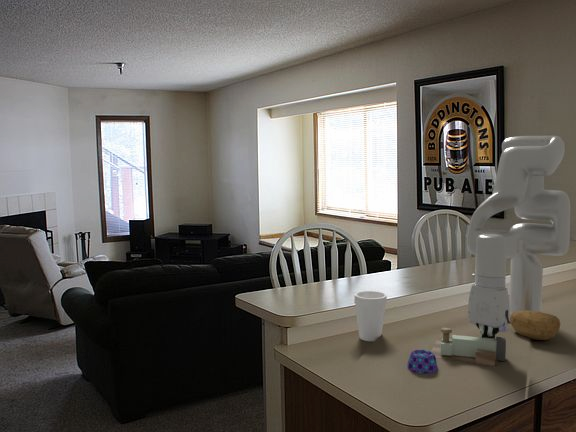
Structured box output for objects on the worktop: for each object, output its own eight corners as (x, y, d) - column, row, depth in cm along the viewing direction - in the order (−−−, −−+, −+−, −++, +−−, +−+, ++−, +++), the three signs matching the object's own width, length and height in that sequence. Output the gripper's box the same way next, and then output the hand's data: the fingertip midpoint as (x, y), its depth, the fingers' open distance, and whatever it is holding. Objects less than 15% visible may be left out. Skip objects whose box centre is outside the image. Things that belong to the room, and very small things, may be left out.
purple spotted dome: (426, 387, 132) (427, 366, 132) (387, 372, 142) (387, 351, 141) (457, 374, 140) (457, 354, 139) (418, 360, 149) (418, 341, 148)
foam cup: (385, 344, 161) (386, 299, 160) (353, 342, 163) (353, 298, 162) (386, 333, 170) (387, 291, 169) (355, 331, 172) (356, 290, 171)
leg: (440, 354, 148) (441, 336, 148) (441, 349, 152) (442, 331, 152) (505, 361, 143) (506, 342, 143) (504, 355, 147) (505, 337, 147)
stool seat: (438, 341, 163) (438, 315, 162) (500, 350, 156) (501, 322, 155) (427, 360, 148) (428, 332, 147) (496, 370, 141) (497, 340, 140)
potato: (517, 329, 173) (518, 304, 172) (565, 340, 163) (566, 313, 162) (502, 336, 167) (503, 310, 166) (551, 348, 156) (552, 320, 156)
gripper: (457, 278, 151) (455, 344, 154) (508, 289, 140) (505, 360, 142) (473, 274, 156) (471, 338, 158) (524, 284, 144) (521, 353, 146)
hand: (487, 348), depth 150 cm, fingers closed
